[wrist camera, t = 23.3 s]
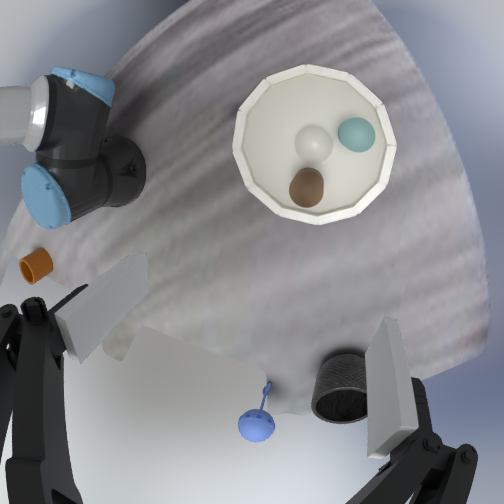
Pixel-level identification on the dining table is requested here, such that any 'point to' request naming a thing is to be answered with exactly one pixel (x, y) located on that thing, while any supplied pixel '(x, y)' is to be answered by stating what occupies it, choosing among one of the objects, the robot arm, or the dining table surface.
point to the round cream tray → (312, 142)
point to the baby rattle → (257, 422)
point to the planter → (341, 390)
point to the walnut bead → (307, 188)
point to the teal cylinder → (356, 134)
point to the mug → (36, 265)
